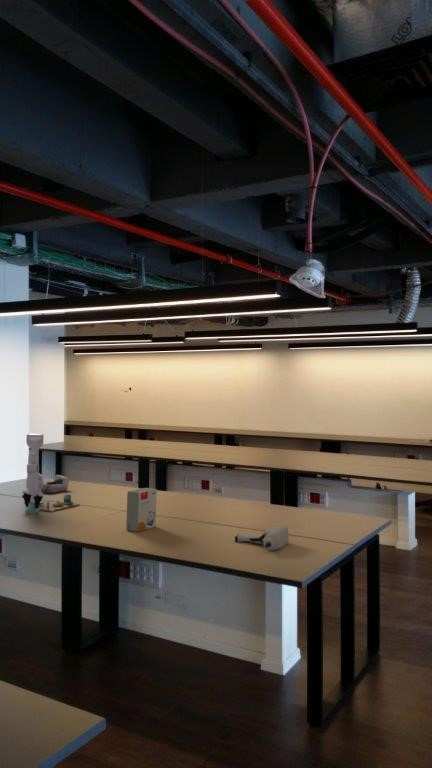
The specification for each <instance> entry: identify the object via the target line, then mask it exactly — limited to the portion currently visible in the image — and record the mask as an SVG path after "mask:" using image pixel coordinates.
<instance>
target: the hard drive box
mask: <svg viewBox="0 0 432 768" xmlns="http://www.w3.org/2000/svg"><path fill="white" fill-rule="evenodd" d="M157 493H158V492H157V488H149V487H143V488H138V489H135V490H134V489H133V490H128V491H127V494H126V525H125V526H126V529H125V530H126V531H130V532H135V533H139V532H143V531H146V530H149V529H152V528H155V527H156V524H157V523H156V522H157Z"/></svg>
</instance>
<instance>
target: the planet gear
mask: <svg viewBox="0 0 432 768" xmlns="http://www.w3.org/2000/svg"><path fill="white" fill-rule="evenodd" d="M24 511H25V512H24V513H26V514H38V513H40V510H38V509H36V508H35V502H31V503H28V507H27V509H25V510H24Z"/></svg>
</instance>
